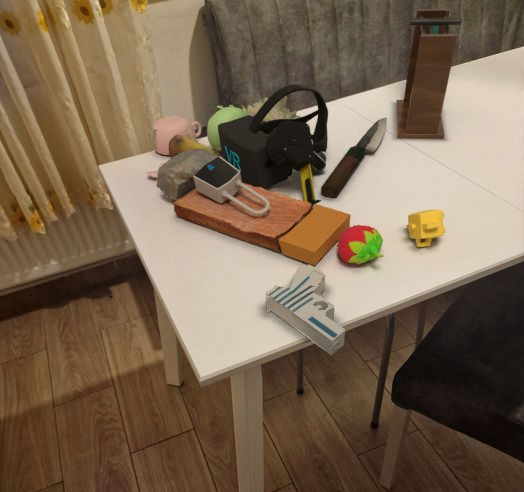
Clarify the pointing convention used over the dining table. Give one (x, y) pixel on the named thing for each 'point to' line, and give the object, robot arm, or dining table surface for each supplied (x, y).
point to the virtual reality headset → (254, 143)
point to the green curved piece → (222, 117)
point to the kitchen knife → (354, 159)
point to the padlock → (224, 183)
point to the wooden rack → (426, 79)
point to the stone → (182, 172)
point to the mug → (172, 132)
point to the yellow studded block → (426, 226)
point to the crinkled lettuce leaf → (273, 110)
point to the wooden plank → (269, 221)
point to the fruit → (185, 145)
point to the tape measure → (294, 153)
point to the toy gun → (307, 308)
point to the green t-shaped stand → (435, 22)
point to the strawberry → (359, 244)
